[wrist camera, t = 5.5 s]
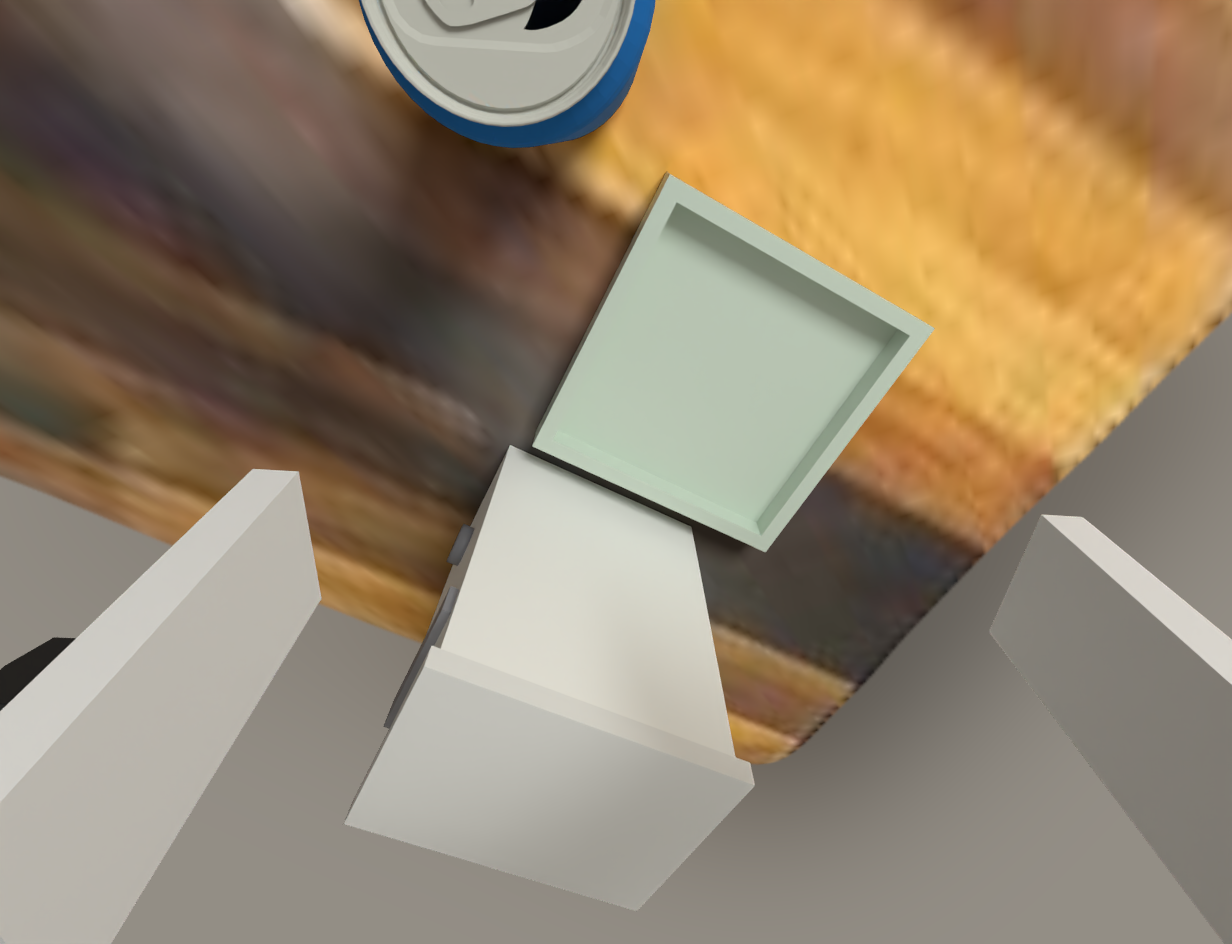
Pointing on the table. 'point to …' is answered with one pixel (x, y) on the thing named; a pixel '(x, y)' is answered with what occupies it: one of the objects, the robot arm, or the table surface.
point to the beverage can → (513, 62)
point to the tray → (724, 369)
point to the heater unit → (561, 697)
